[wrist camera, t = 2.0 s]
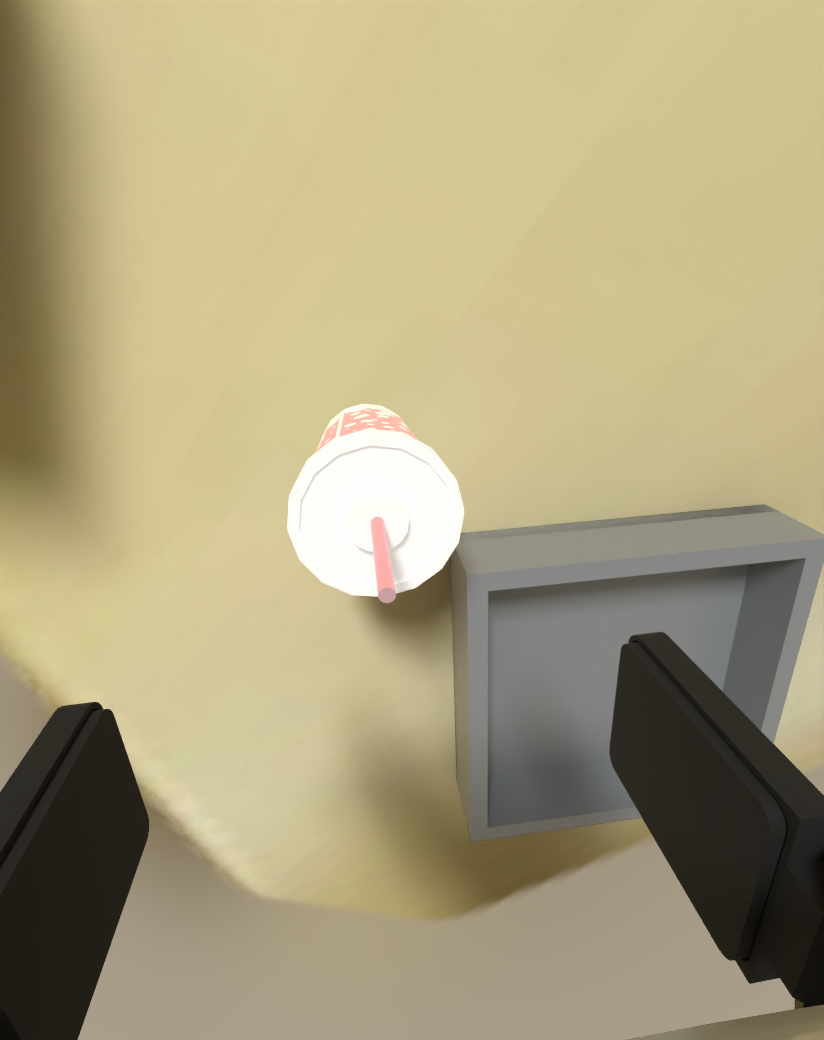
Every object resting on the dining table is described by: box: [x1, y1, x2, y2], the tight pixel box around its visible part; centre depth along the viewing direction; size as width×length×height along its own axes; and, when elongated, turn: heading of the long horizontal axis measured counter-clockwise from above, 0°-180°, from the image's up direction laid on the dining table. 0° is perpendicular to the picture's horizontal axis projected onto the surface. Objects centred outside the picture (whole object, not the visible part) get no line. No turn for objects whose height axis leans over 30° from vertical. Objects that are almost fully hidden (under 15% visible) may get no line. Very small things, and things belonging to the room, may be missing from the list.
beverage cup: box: [287, 404, 464, 603], centre depth 21 cm, size 6×6×14 cm
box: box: [450, 505, 824, 842], centre depth 31 cm, size 18×18×4 cm
